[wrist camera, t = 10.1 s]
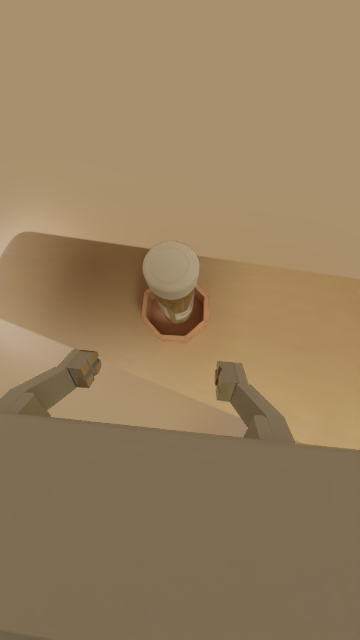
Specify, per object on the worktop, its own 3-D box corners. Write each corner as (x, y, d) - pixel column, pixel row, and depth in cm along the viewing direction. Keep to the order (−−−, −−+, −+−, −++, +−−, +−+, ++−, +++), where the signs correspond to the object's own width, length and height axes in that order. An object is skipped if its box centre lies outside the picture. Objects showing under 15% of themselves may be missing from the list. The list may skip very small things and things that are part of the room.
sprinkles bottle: (192, 325, 25) (199, 293, 12) (162, 324, 25) (138, 291, 12) (192, 297, 26) (200, 238, 13) (164, 296, 26) (143, 237, 13)
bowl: (206, 287, 27) (209, 277, 24) (204, 344, 25) (207, 342, 22) (151, 284, 28) (146, 274, 24) (144, 340, 26) (138, 337, 22)
